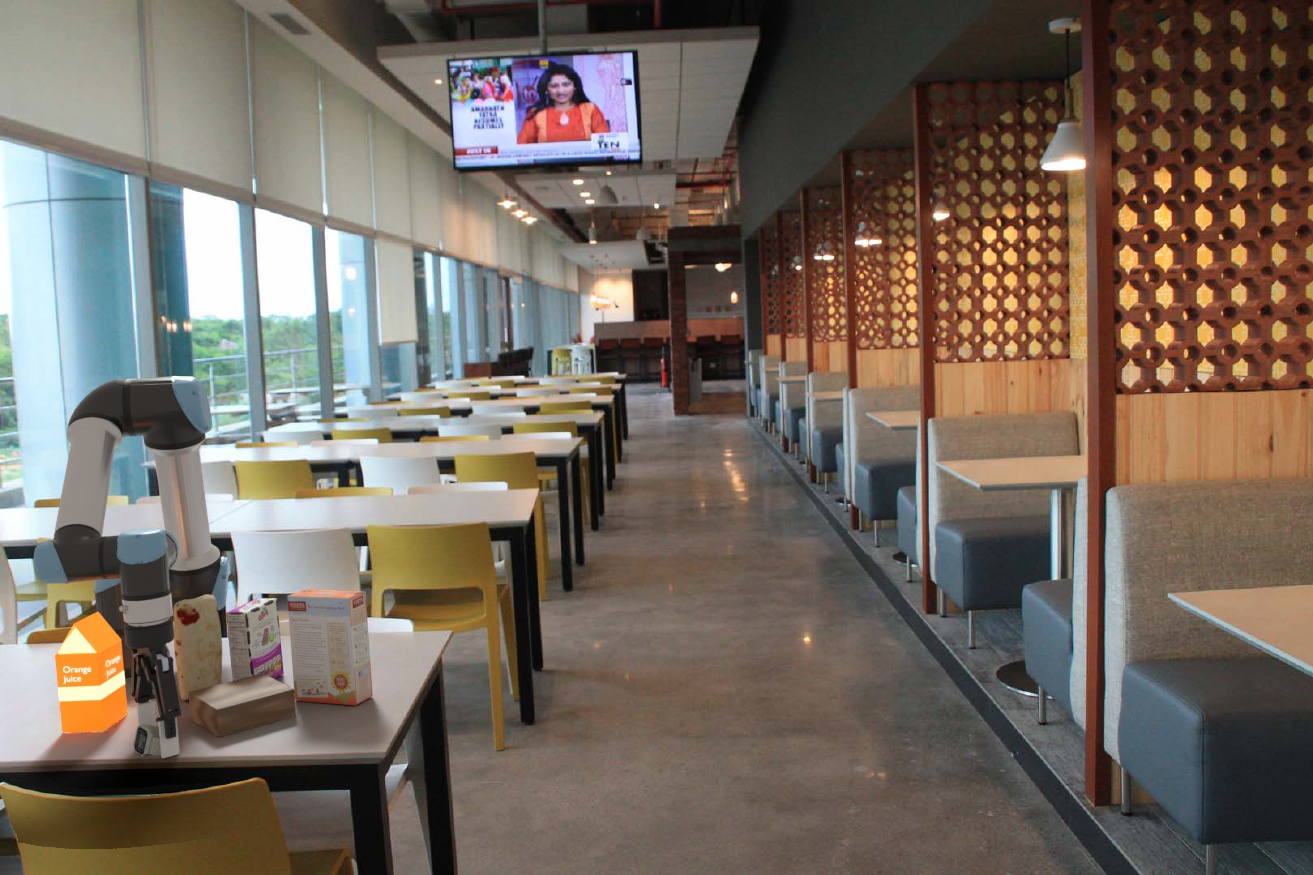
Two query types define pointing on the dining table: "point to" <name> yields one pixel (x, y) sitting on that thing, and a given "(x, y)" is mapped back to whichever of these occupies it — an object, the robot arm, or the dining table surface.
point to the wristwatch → (147, 740)
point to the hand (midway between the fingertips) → (159, 747)
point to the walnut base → (241, 704)
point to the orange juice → (91, 677)
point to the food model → (197, 644)
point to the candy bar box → (255, 639)
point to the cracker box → (330, 646)
